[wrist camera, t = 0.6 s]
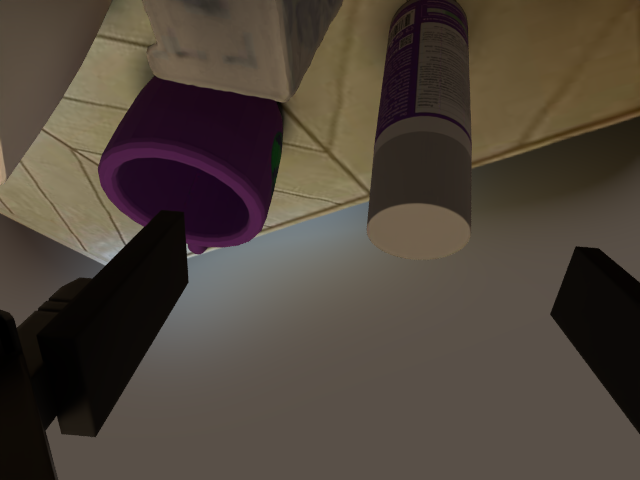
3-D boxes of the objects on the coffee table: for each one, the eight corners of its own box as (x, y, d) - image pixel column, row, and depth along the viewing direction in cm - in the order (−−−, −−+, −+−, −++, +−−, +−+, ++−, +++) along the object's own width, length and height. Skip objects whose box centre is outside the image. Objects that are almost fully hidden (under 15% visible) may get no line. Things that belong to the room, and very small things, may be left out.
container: (401, 73, 29) (383, 265, 22) (378, 9, 26) (347, 210, 18) (473, 53, 27) (482, 257, 20) (459, -20, 24) (463, 193, 16)
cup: (5, -39, 27) (-175, 130, 19) (-8, -173, 21) (-270, -8, 14) (124, 24, 29) (7, 197, 22) (141, -79, 24) (-8, 104, 16)
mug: (138, 21, 29) (71, 126, 24) (302, 64, 30) (271, 175, 25) (167, 178, 44) (130, 263, 39) (277, 204, 45) (254, 291, 40)
